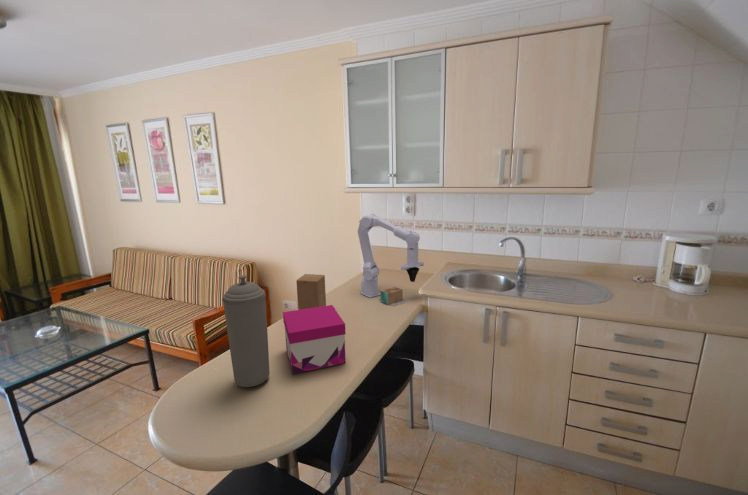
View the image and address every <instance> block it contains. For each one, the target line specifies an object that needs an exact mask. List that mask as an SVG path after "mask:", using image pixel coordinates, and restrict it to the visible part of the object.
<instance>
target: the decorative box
mask: <svg viewBox="0 0 748 495" xmlns="http://www.w3.org/2000/svg"><path fill="white" fill-rule="evenodd" d="M282 317H283V320H282V321H283V325H284V333H285V334H284V335H285V346H286V347H285V348H286V353H287V357H288V361H289V365H290V370H291V373H292V375H294V374H298V373H304V372H309V371H314V370H319V369H323V368H327V367H333V366H337V365H343V364H346V339H345V335H347V334H346V323H345V321H344V320H343V319H342V317H341V316H340V314H339V313H338V311H337V310H336V309H335V306H334V305H333V304H330V305H329V304H328V305H326V306H321V307H315V308H308V309H301V310H298V309H296V310H288V311H282Z"/></svg>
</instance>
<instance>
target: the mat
mask: <svg viewBox="0 0 748 495" xmlns="http://www.w3.org/2000/svg"><path fill="white" fill-rule="evenodd" d="M378 301H380V299H378ZM405 303H408V301H407V300H406V299H403V298H402V301H399V302H396V303H393V304H389V305H388V306H391V307H396V306H399V305H401V304H405Z"/></svg>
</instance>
